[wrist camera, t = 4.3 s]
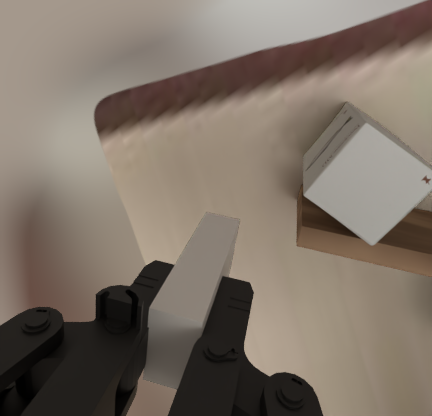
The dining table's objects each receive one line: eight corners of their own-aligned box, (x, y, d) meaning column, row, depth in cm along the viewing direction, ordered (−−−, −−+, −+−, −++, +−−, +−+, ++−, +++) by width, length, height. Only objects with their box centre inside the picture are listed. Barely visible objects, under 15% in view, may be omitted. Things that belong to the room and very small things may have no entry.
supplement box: (347, 98, 36) (368, 117, 25) (404, 142, 37) (451, 179, 25) (300, 155, 39) (300, 195, 28) (353, 195, 40) (374, 249, 28)
